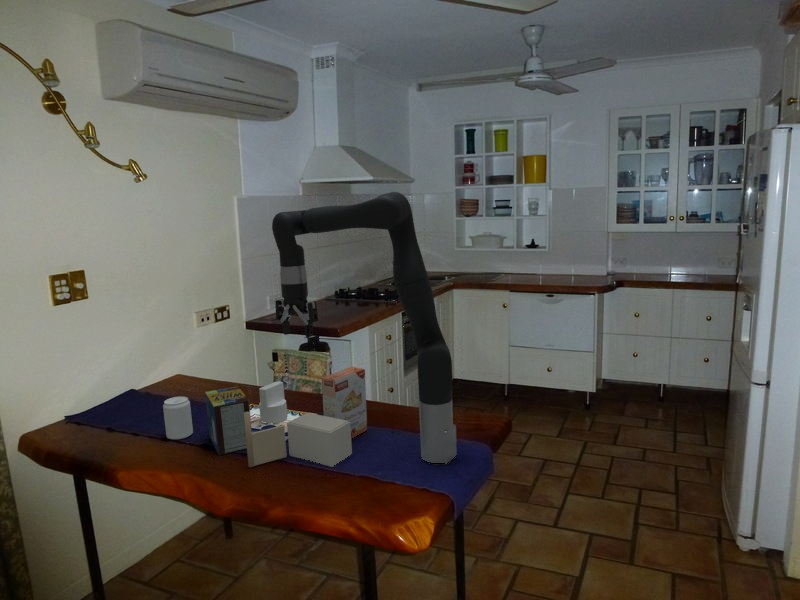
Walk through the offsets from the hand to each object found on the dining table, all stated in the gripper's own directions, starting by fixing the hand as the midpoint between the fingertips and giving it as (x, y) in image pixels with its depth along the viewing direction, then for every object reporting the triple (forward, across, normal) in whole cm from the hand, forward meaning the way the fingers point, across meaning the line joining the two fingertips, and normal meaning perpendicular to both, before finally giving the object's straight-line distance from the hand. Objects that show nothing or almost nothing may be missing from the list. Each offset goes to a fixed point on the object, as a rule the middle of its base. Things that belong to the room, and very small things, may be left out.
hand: (298, 335), depth 176 cm
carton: (+34, +9, -4) cm, 35 cm away
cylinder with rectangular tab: (+34, -24, +11) cm, 43 cm away
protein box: (+34, -22, -10) cm, 42 cm away
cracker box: (+34, +8, +10) cm, 37 cm away
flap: (+34, -2, -15) cm, 37 cm away
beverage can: (+34, -42, -13) cm, 56 cm away
